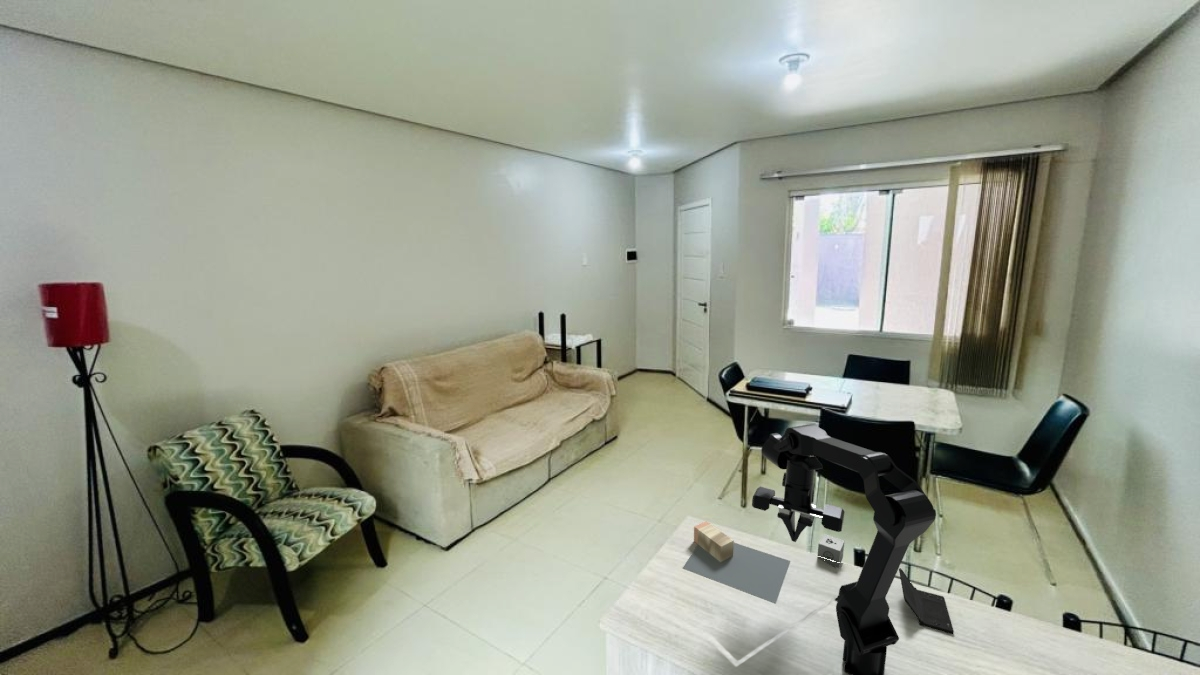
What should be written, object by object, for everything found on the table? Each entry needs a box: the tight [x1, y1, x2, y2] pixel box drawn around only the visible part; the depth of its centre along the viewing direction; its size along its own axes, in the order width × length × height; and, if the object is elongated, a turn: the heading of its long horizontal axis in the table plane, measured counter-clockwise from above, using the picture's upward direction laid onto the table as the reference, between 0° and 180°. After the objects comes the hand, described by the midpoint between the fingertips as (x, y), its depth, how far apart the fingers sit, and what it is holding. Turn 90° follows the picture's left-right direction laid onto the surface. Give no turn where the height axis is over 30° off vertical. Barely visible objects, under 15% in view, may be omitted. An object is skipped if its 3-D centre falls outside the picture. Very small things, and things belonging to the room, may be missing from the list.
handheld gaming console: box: [898, 567, 955, 635], centre depth 103 cm, size 12×7×10 cm
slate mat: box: [682, 542, 791, 604], centre depth 118 cm, size 22×16×1 cm
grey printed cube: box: [816, 533, 845, 569], centre depth 120 cm, size 5×5×5 cm
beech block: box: [693, 520, 735, 562], centre depth 123 cm, size 4×4×10 cm
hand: (794, 540), depth 107 cm, fingers closed
